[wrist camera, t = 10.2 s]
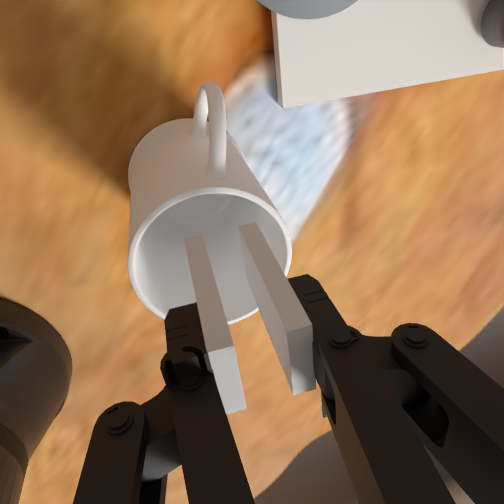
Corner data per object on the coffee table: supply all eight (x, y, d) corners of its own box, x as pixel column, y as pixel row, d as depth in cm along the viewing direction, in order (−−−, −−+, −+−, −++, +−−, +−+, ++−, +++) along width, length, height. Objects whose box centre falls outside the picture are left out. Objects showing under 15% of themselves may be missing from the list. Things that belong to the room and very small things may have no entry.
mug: (139, 52, 26) (139, 85, 16) (269, 81, 28) (341, 126, 18) (123, 223, 31) (114, 330, 21) (233, 235, 34) (273, 334, 24)
